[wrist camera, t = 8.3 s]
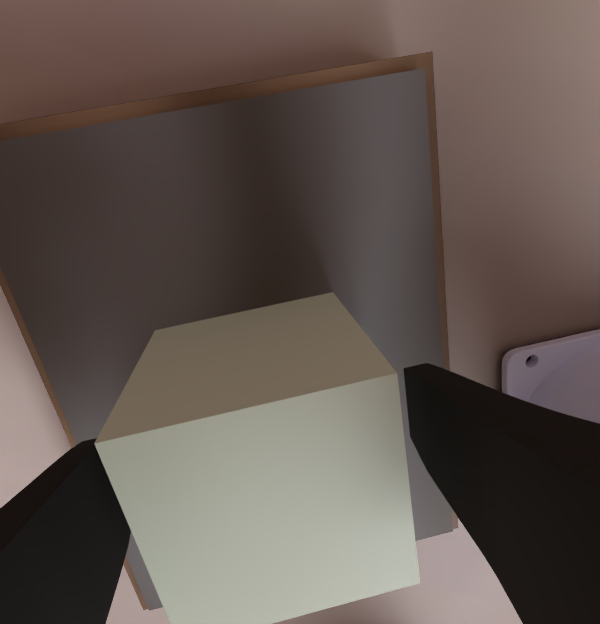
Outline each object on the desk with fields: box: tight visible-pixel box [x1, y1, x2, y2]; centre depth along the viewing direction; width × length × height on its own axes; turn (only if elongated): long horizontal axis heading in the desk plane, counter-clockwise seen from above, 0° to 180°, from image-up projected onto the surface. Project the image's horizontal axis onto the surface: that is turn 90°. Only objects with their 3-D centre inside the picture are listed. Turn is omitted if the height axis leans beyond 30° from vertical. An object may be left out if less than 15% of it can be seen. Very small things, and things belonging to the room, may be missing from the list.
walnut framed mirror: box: [0, 52, 458, 610], centre depth 13 cm, size 12×16×2 cm
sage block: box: [94, 292, 420, 624], centre depth 10 cm, size 5×5×5 cm
